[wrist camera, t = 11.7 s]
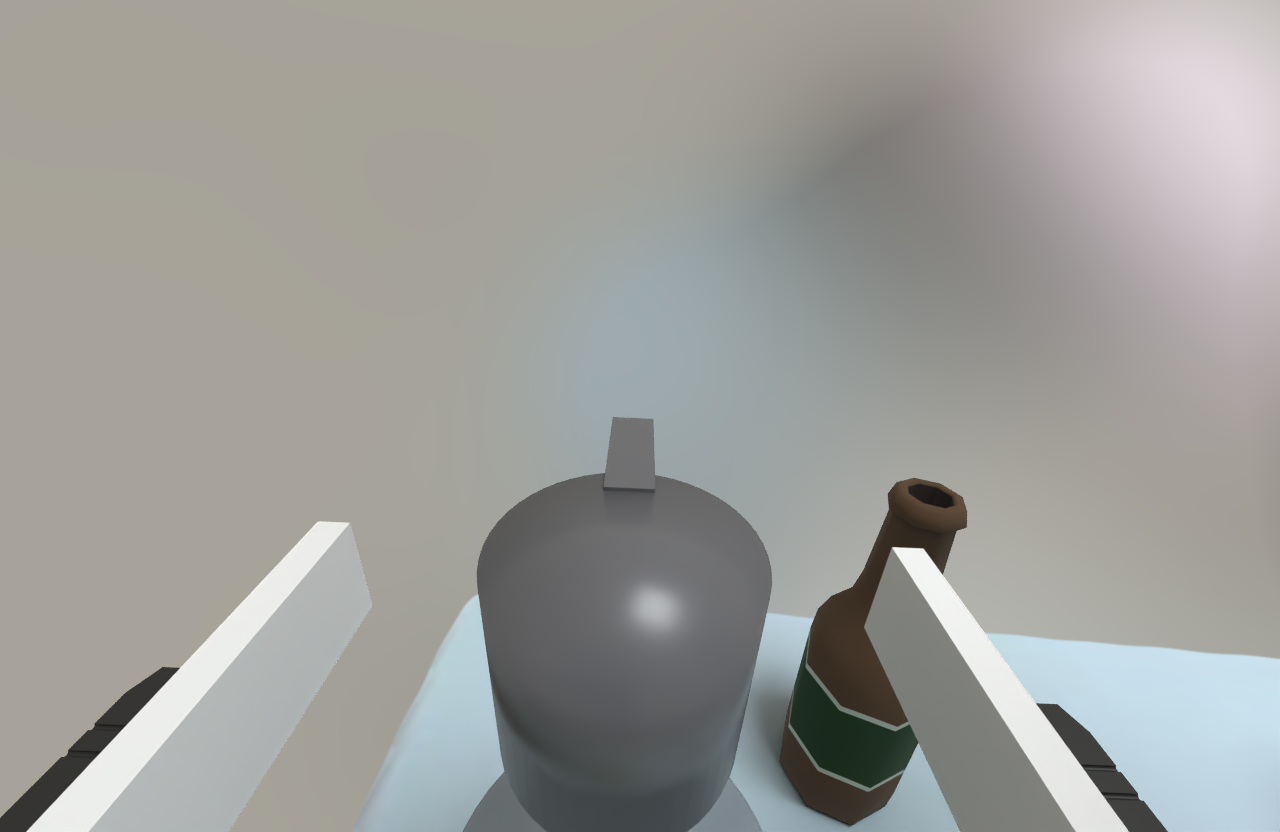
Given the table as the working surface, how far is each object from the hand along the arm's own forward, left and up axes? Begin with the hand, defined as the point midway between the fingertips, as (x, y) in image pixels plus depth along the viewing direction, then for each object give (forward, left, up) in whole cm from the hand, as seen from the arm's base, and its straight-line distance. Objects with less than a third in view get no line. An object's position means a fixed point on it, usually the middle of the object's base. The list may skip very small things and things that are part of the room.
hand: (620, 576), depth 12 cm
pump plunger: (+1, 0, -10) cm, 10 cm away
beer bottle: (-19, -2, -29) cm, 35 cm away
